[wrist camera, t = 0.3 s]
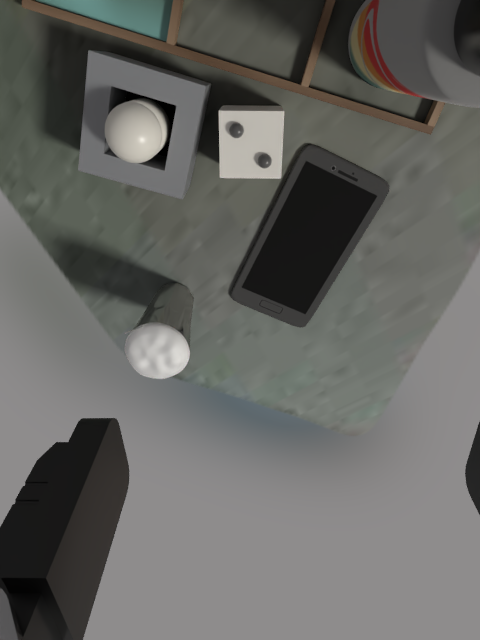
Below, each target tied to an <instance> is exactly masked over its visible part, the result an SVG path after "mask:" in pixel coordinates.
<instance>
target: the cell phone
mask: <svg viewBox="0 0 480 640" xmlns="http://www.w3.org/2000/svg"><path fill="white" fill-rule="evenodd" d="M388 192H389V185H388V183H387V182H386V181H385V180H384V179H382V178H381V177H379V176H377V175H375V174H373V173H371V172H369V171H367V170H365V169H363V168H361V167H359V166H357V165H355V164H353V163H351V162H349V161H347V160H345V159H343V158H341V157H339V156H337V155H335V154H333V153H331V152H329V151H327V150H325V149H323V148H321V147H319V146H316V145H313V144H308V145H306V146H304V148H303V149H302V150H301V152H300V154H299V156H298V157H297V159H296V161H295V163H294V165H293V167H292V169H291V171H290V173H289V175H288V177H287V179H286V181H285V183H284V185H283V187H282V189H281V191H280V193H279V195H278V197H277V199H276V201H275V203H274V205H273V207H272V209H271V211H270V213H269V215H268V217H267V219H266V221H265V223H264V225H263V227H262V229H261V232H260V234H259V236H258V238H257V240H256V242H255V244H254V246H253V248H252V250H251V252H250V254H249V256H248V258H247V260H246V262H245V264H244V266H243V268H242V270H241V272H240V274H239V276H238V278H237V280H236V282H235V284H234V287H233V289H232V293H231V297H232V299H233V300H235V301H236V302H238V303H240V304H242V305H244V306H247V307H249V308H252V309H254V310H257V311H259V312H261V313H264V314H266V315H269V316H271V317H274V318H276V319H278V320H281V321H283V322H286V323H288V324H290V325H293V326H297V327H304V326H306V324H307V323H308V322H309V321H310V319H311V318H312V316H313V315H314V313H315V312H316V310H317V308H318V307H319V305H320V303H321V302H322V300H323V299H324V297H325V295H326V294H327V292H328V291H329V289H330V287H331V286H332V284H333V282H334V281H335V279H336V278H337V276H338V274H339V273H340V271H341V270H342V268H343V266H344V265H345V263H346V261H347V260H348V258H349V257H350V255H351V253H352V252H353V250H354V249H355V247H356V245H357V244H358V242H359V240H360V239H361V237H362V236H363V234H364V232H365V231H366V229H367V228H368V226H369V224H370V223H371V221H372V219H373V218H374V216H375V215H376V213H377V211H378V210H379V208H380V207H381V205H382V203H383V202H384V200H385V198H386V196H387V194H388Z"/></svg>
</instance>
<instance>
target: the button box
mask: <svg viewBox="0 0 480 640" xmlns="http://www.w3.org/2000/svg"><path fill="white" fill-rule="evenodd" d="M211 84H212V83H209V82H205V81H202V80H199V79H196V78H192V77H189V76H186V75H183V74H179V73H176V72H173V71H170V70H166V69H163V68H160V67H157V66H153V65H150V64H147V63H144V62H140V61H137V60H134V59H131V58H127V57H124V56H121V55H118V54H114V53H111V52H107V51H93V50H88V61H87V73H86V85H85V97H84V109H83V120H82V132H81V144H80V156H79V167H78V171H82V172H86V173H89V174H93V175H96V176H100V177H104V178H107V179H111V180H114V181H118V182H122V183H125V184H129V185H132V186H136V187H140V188H143V189H147V190H150V191H154V192H158V193H161V194H165V195H168V196H172V197H176V198H179V199H183V198H184V196H185V194H186V192H187V190H188V188H189V186H190V183H191V179H192V174H193V169H194V165H195V160H196V155H197V150H198V146H199V141H200V136H201V132H202V127H203V122H204V117H205V113H206V108H207V103H208V99H209V94H210V89H211ZM127 91H129V92H132V93H136V94H139V95H142V96H146V97H149V98H152V99H156V100H159V101H162V102H166V103H169V104H173V105H176V111H175V116H174V122H173V127H172V133H171V139H170V144H169V150H168V155H167V157H164V156H161V155H157V154H156V155H155V156H154V157H153V158H151V159H150V160H148V161H146V162H142V163H130V162H127V161H124V160H122V159H121V158H119V157H118V156H117V155H115V154H114V153H113V151H112V150H111V149H110V147H109V145H108V143H107V141H106V137H105V122H106V119H107V117H108V115H109V113H110V112H111V111H112V109H114V108H115V107H116V106H118V105H119V104H122V103H125V101H126V93H127Z"/></svg>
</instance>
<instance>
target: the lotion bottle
mask: <svg viewBox="0 0 480 640" xmlns="http://www.w3.org/2000/svg"><path fill="white" fill-rule="evenodd" d="M348 50H349V56H350V60H351V63H352V66H353V68H354V70H355V71H356V73H357V74H358V75H359V76H360V77H361V78H362V79H363V80H364V81H365V82H367V83H368V84H370V85H372V86H374V87H377V88H380V89H384V90H389V91H394V92H398V93H403V94H408V95H413V96H417V97H422V98H427V99H431V100H436V101H441V102H446V103H451V104H456V105H461V106H467V107H478V108H480V0H366V1H365V2H364V3H363V4H362V5H361V7H360V8H359V10H358V11H357V13H356V15H355V17H354V19H353V22H352V25H351V28H350V32H349V39H348Z"/></svg>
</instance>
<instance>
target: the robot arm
mask: <svg viewBox="0 0 480 640" xmlns="http://www.w3.org/2000/svg"><path fill="white" fill-rule="evenodd" d="M465 474H466V484H467V488H468V491H469V494H470V496H471V498H472V500H473V502H474V504H475V506H476V508H477V510H478V512H479V514H480V422H479V425H478V428H477V432H476V435H475V438H474V441H473V444H472V448H471V451H470V455H469V458H468V461H467V464H466V473H465ZM128 484H129V465H128V461H127V457H126V452H125V448H124V444H123V439H122V435H121V431H120V426H119V423H118V421H117V419H115V418H87V419H86V418H83V419H81V420H80V421H79V422H78V424H77V426H76V428H75V430H74V432H73V434H72V436H71V438H70V440H69V442H56V443H55V444H54V445H53V446H52V447H51V448H50V449H49V450H48V451H47V452H46V453H45V454H43V455H42V456H41V457H40V458H39V459H38V460H37V462H36V464H35V465H34V467H33V469H32V471H31V473H30V474H29V476H28V478H27V480H26V482H25V486H23V487H22V489H21V491H20V493H19V494H18V496H17V498H16V502H15V504H13V505H12V507H11V509H10V511H9V513H8V514H7V516H6V518H5V520H4V522H3V524H2V525H1V527H0V640H83V637H84V634H85V630H86V627H87V624H88V620H89V617H90V614H91V610H92V607H93V604H94V601H95V597H96V593H97V590H98V587H99V584H100V581H101V577H102V574H103V571H104V567H105V564H106V561H107V557H108V554H109V551H110V547H111V544H112V541H113V538H114V534H115V531H116V527H117V524H118V521H119V518H120V514H121V511H122V507H123V504H124V501H125V497H126V494H127V490H128Z"/></svg>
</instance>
